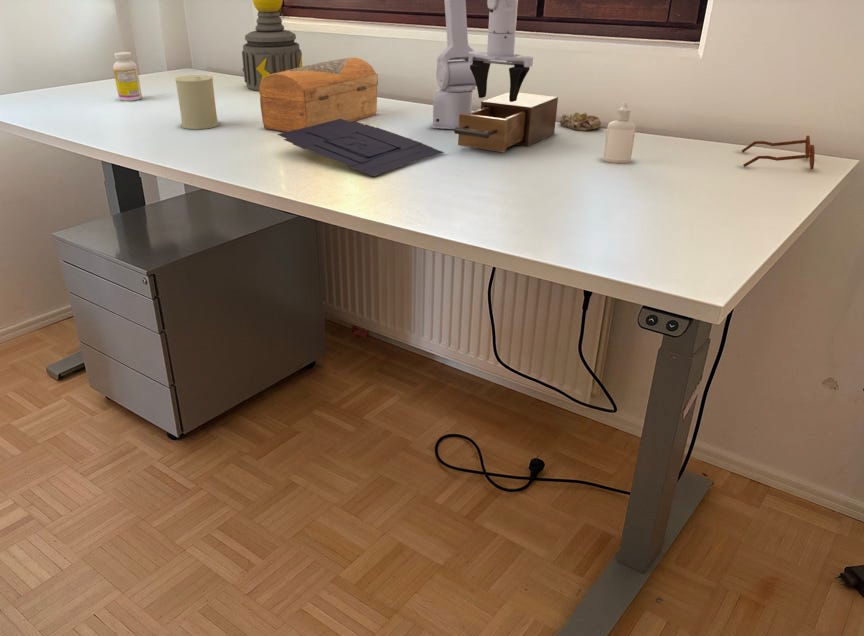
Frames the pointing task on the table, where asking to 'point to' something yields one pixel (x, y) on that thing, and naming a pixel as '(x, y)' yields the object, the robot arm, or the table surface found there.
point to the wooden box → (319, 94)
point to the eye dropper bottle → (620, 138)
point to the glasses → (808, 149)
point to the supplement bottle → (126, 77)
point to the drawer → (492, 128)
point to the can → (197, 101)
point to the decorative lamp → (269, 46)
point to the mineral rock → (580, 121)
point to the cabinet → (530, 114)
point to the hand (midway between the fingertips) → (497, 99)
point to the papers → (360, 145)
